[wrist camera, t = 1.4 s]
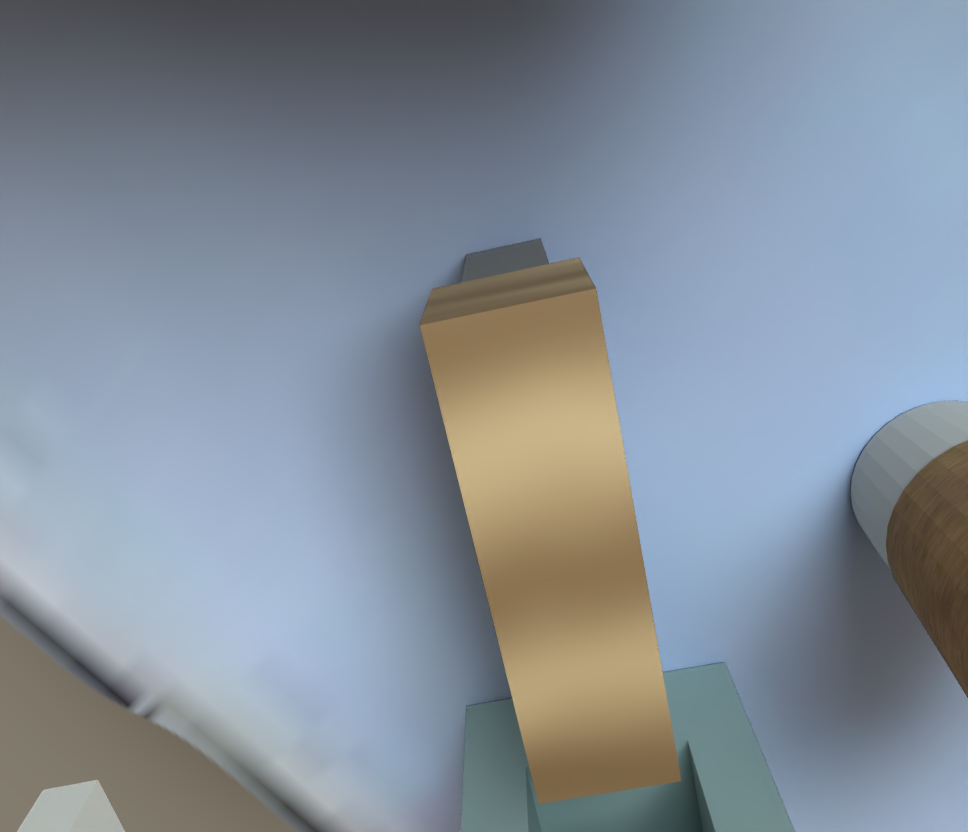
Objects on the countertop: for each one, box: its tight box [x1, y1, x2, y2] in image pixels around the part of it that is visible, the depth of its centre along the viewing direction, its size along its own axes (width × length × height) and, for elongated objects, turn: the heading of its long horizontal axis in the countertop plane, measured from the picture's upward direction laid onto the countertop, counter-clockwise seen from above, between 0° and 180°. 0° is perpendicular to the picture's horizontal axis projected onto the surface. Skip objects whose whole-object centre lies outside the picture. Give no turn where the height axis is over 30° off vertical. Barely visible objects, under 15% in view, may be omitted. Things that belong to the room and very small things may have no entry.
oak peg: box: [420, 258, 681, 804], centre depth 23 cm, size 14×4×4 cm, turn 12°
